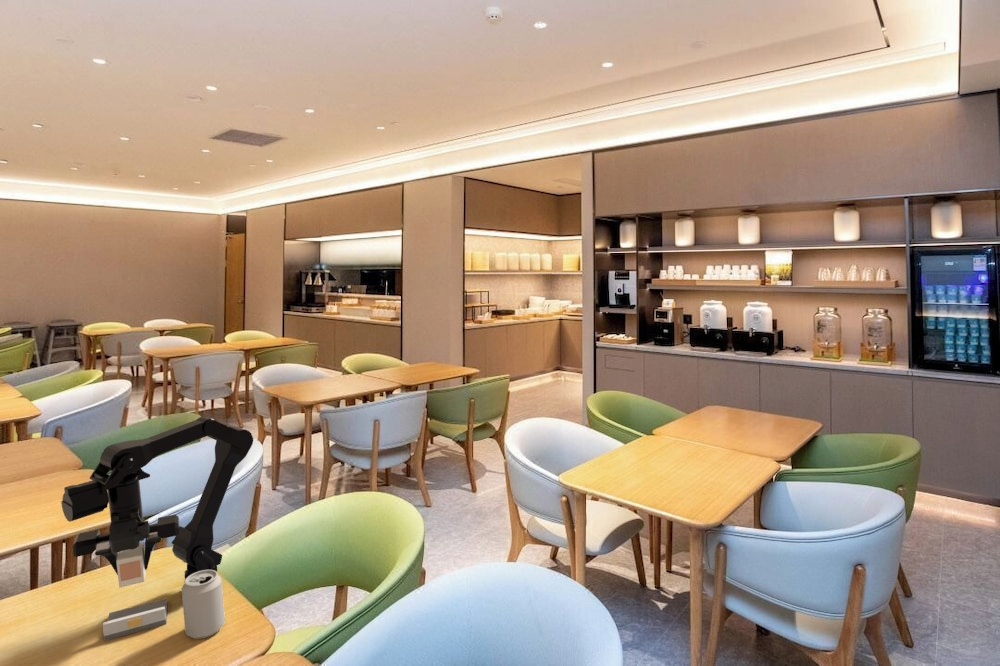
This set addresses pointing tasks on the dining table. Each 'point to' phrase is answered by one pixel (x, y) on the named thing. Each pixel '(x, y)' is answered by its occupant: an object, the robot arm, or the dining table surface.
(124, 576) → the carton
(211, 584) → the can
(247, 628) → the dining table surface
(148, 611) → the grey drawer
